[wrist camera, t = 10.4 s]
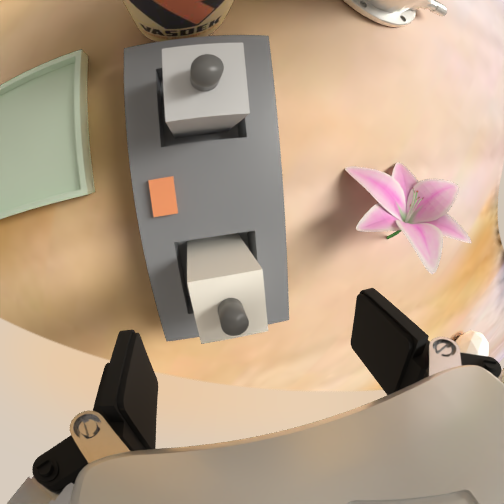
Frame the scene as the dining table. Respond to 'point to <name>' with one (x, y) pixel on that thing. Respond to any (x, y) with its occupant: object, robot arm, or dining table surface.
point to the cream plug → (225, 288)
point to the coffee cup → (177, 17)
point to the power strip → (205, 181)
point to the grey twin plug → (204, 88)
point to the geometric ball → (473, 343)
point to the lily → (411, 210)
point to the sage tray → (45, 135)
